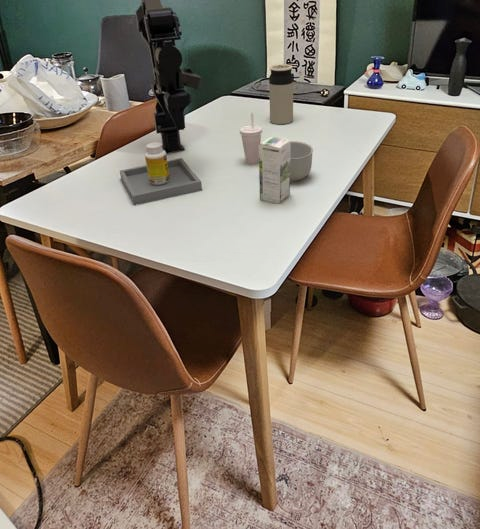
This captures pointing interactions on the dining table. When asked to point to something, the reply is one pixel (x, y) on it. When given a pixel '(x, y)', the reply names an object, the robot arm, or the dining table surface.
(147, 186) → the tray
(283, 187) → the syrup box
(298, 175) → the teacup
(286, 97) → the travel mug
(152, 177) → the supplement bottle
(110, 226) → the dining table surface
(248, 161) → the smoothie
